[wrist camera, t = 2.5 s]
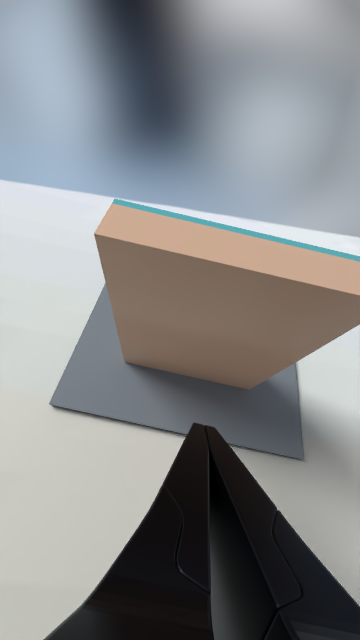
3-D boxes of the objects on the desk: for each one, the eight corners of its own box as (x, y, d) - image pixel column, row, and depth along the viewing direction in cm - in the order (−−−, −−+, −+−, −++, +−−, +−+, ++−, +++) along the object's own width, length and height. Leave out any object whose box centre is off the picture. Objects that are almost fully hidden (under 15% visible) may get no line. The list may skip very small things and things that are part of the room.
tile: (249, 389, 18) (394, 303, 7) (124, 362, 17) (93, 233, 7) (249, 365, 19) (377, 260, 8) (131, 339, 18) (115, 198, 8)
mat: (300, 459, 16) (303, 459, 16) (50, 405, 16) (48, 404, 15) (284, 274, 25) (286, 271, 25) (128, 237, 25) (128, 235, 25)
